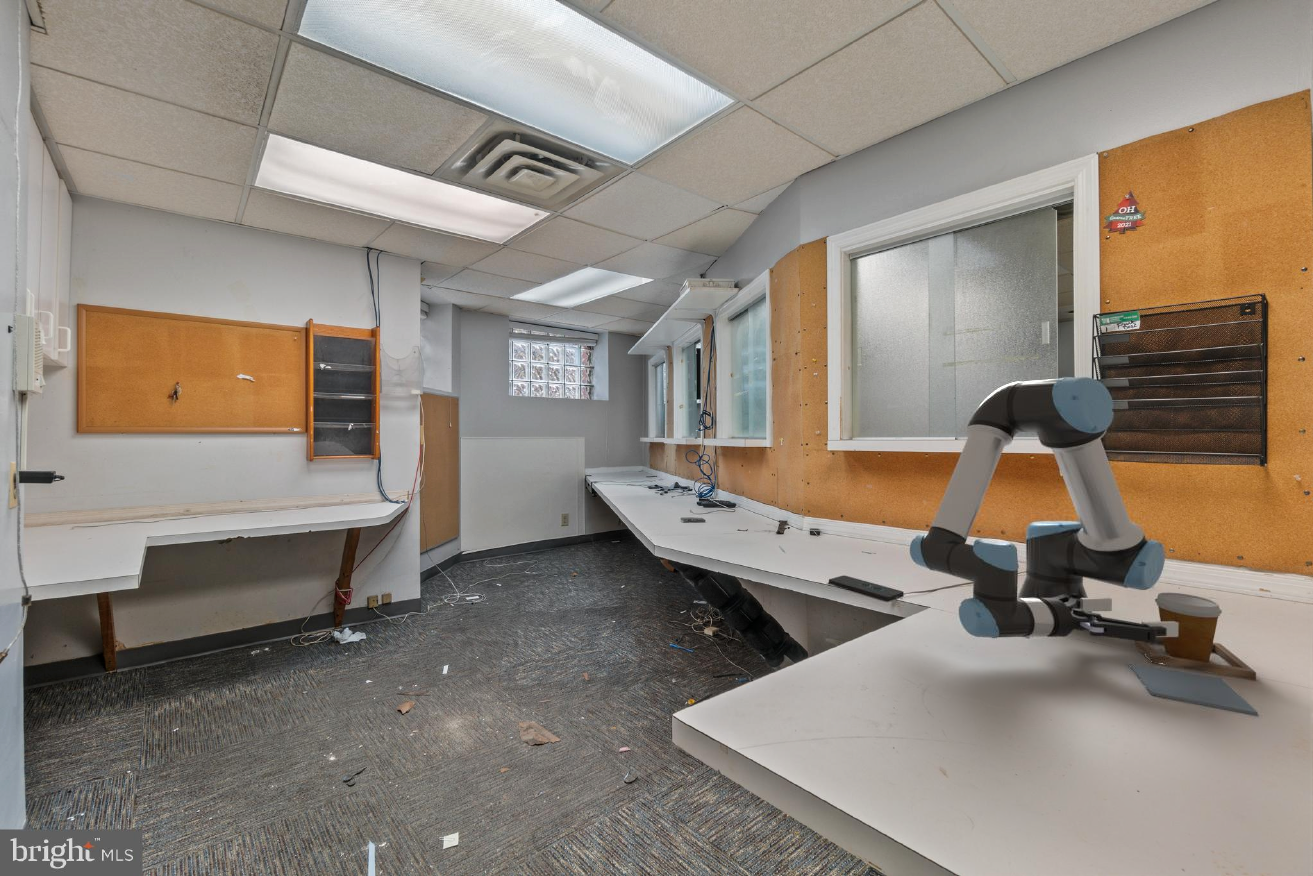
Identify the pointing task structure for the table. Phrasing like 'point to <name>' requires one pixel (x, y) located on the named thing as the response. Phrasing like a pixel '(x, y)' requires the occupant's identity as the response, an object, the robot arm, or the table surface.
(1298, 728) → the table surface
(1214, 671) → the cup holder frame
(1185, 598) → the disposable coffee cup
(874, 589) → the smart home device
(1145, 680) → the rubber mat
